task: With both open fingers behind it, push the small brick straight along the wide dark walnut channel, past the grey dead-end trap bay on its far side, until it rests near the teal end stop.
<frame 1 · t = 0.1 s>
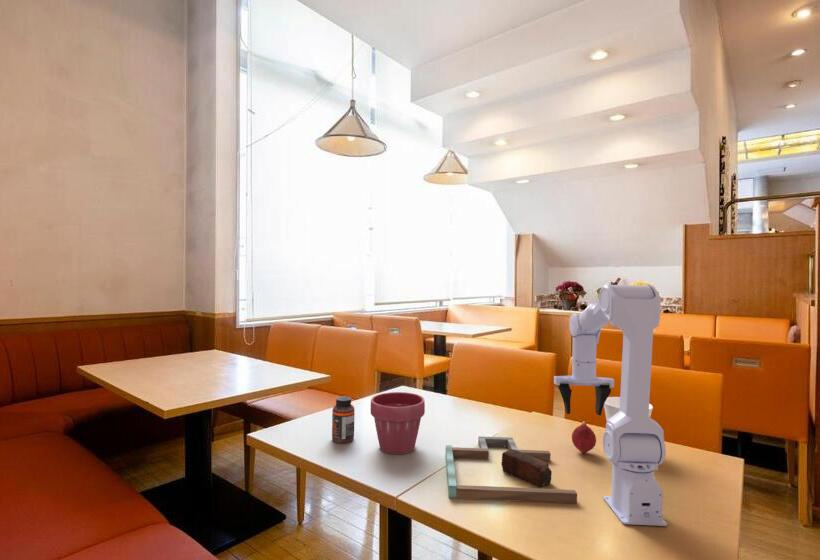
hand: (582, 413, 112), 10 cm above the table, tool pointing down, fingers open, 7 cm apart
onion: (583, 453, 112), on the table
plant pot: (396, 448, 113), on the table
cup: (626, 450, 114), on the table
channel: (507, 476, 98), on the table
supplement bottle: (342, 440, 118), on the table
brick: (525, 478, 98), on the table
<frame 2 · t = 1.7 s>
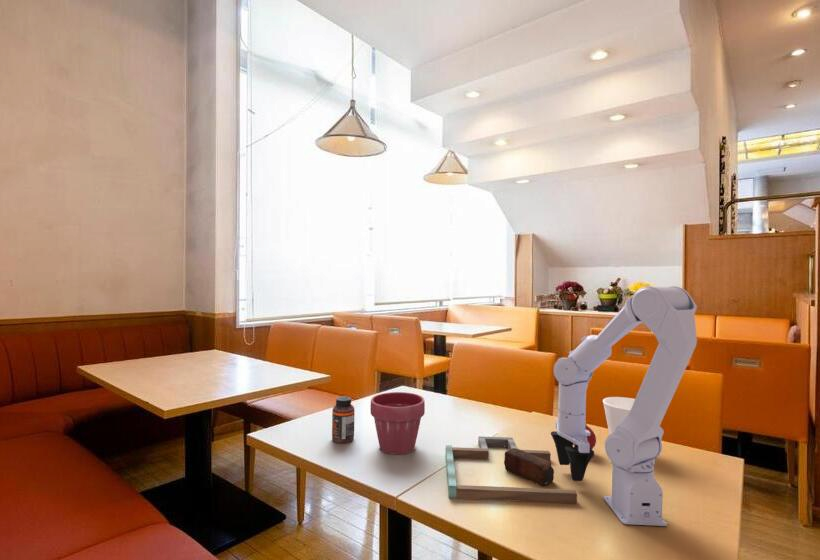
hand: (570, 472, 97), 2 cm above the table, tool pointing down, fingers open, 7 cm apart
nothing on the table moved.
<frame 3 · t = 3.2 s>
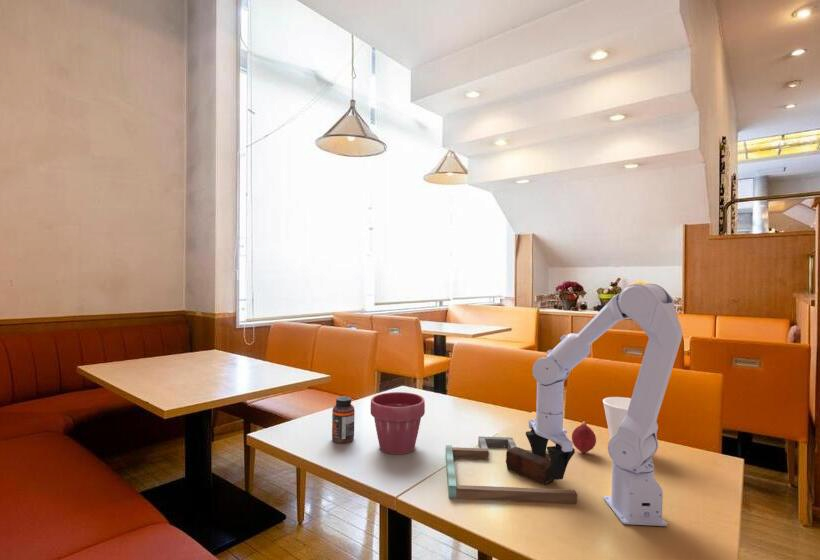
hand: (548, 470, 97), 2 cm above the table, tool pointing down, fingers open, 7 cm apart
brick: (529, 476, 99), on the table, touching gripper
everything else where it was.
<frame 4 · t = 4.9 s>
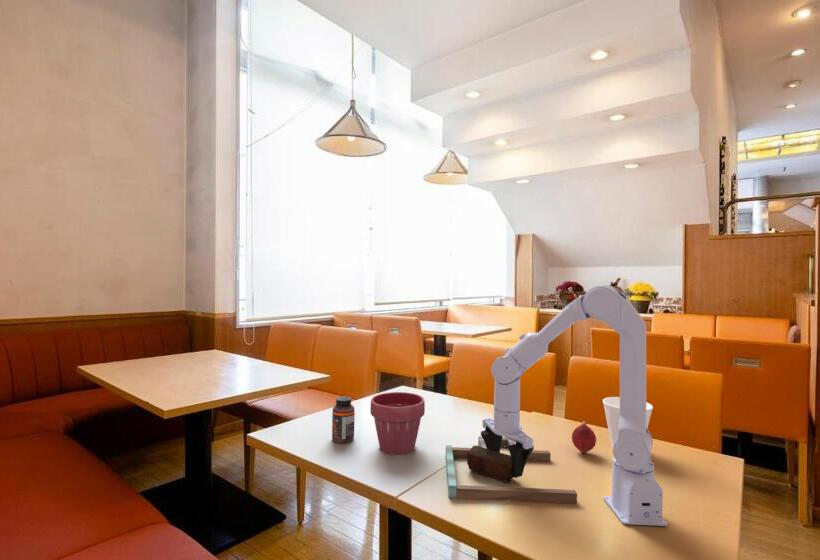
hand: (505, 469, 98), 2 cm above the table, tool pointing down
brick: (492, 473, 99), on the table, touching gripper
everything else where it was.
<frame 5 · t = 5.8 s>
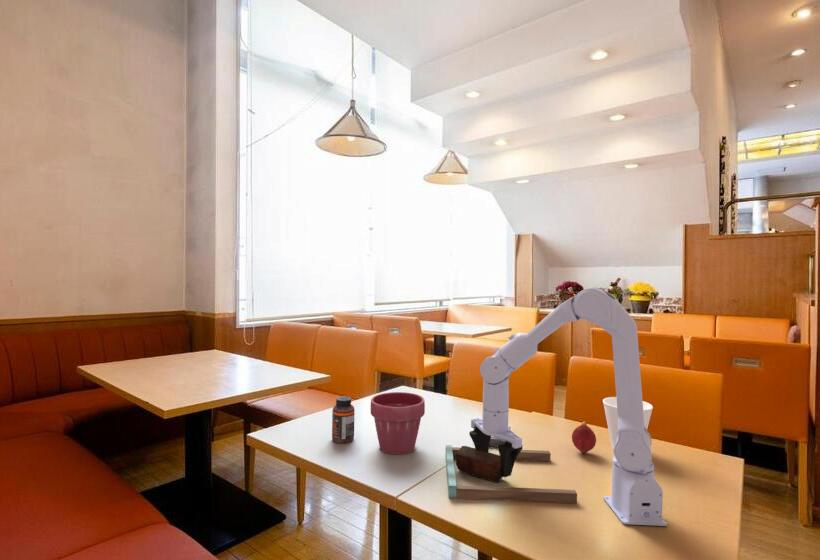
hand: (494, 468, 98), 2 cm above the table, tool pointing down
brick: (481, 473, 99), on the table, touching gripper
everything else where it was.
when the fingers open (2 cm above the table, at t = 6.4 s): brick stays where it is, on the table.
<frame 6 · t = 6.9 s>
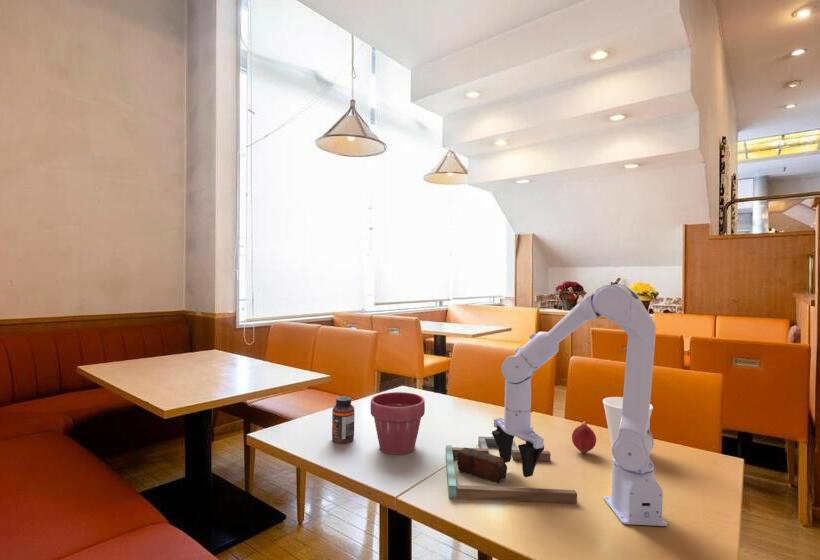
hand: (516, 468, 98), 2 cm above the table, tool pointing down, fingers open, 7 cm apart
brick: (481, 476, 99), on the table
everything else where it was.
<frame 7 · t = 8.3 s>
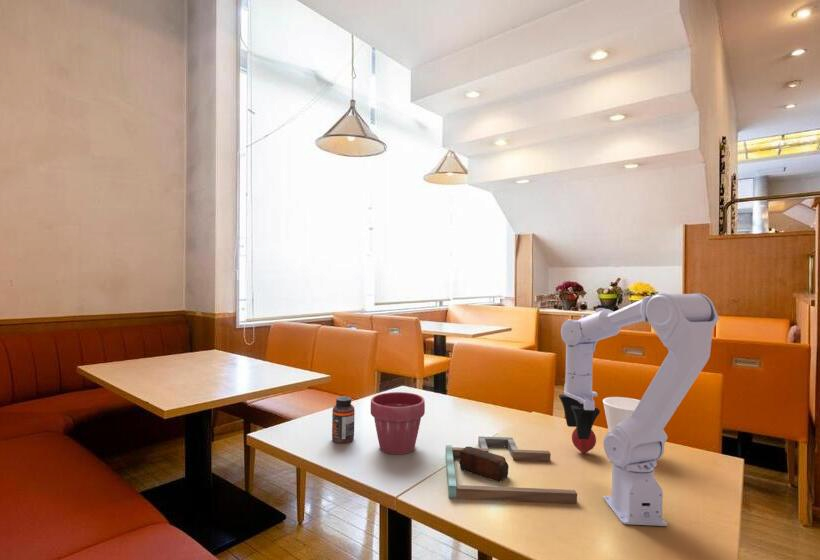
hand: (577, 432, 99), 10 cm above the table, tool pointing down, fingers open, 7 cm apart
nothing on the table moved.
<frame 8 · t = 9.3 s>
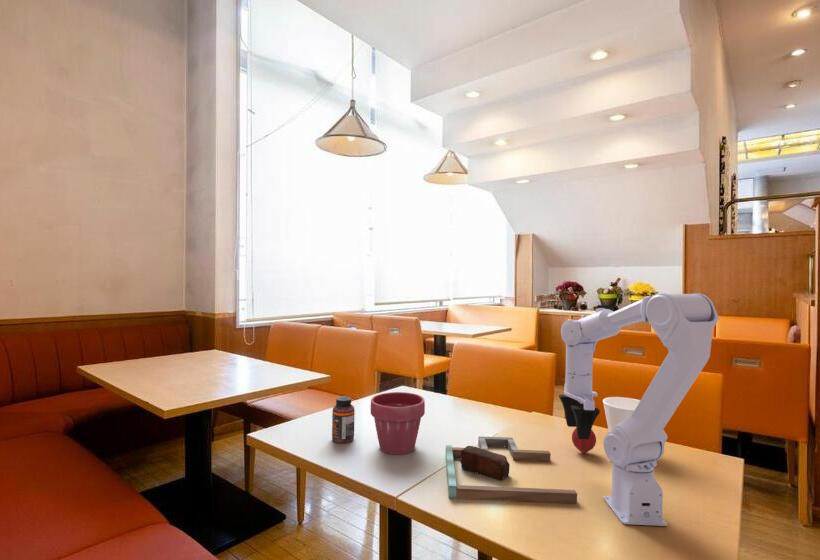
hand: (577, 432, 99), 10 cm above the table, tool pointing down, fingers open, 7 cm apart
at the end: brick inside the target area (3.7 cm from its centre), on the table; brick moved 9.0 cm from its start; the gripper is holding nothing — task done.
